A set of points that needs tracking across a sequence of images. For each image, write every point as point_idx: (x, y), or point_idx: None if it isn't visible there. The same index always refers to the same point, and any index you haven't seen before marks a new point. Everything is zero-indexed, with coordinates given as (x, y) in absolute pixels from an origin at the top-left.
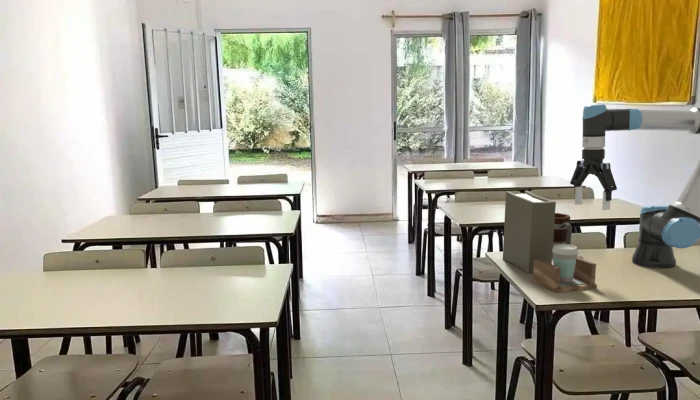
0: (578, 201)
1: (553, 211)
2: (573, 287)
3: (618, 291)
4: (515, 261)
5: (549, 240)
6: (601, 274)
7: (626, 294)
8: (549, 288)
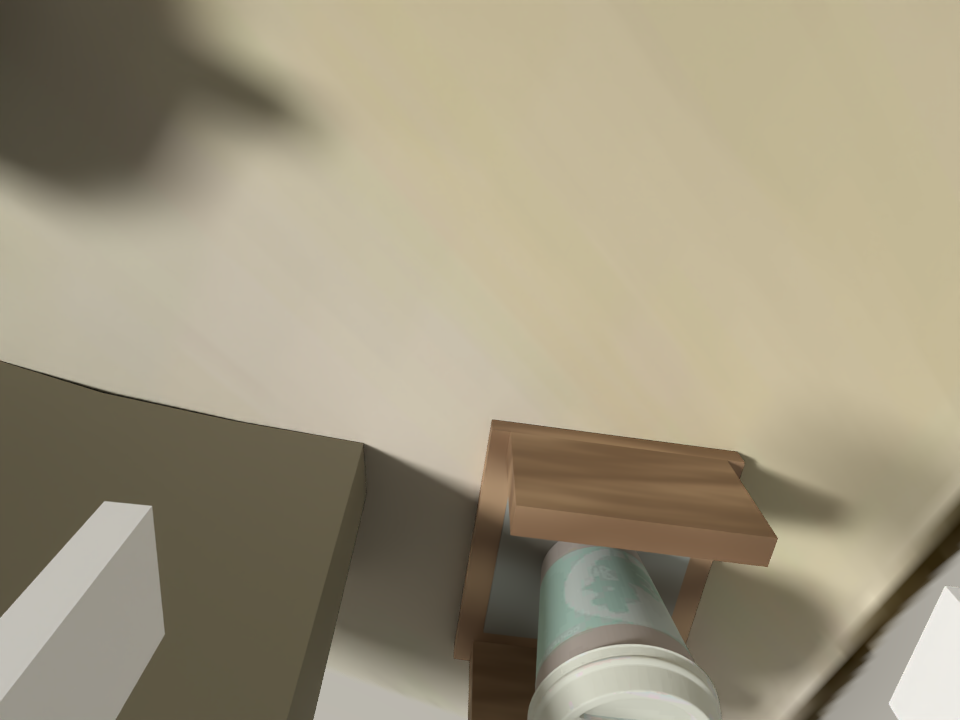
0: (126, 642)
1: None
2: (698, 600)
3: (855, 398)
4: None
5: (324, 633)
6: (566, 191)
7: (915, 404)
8: None
